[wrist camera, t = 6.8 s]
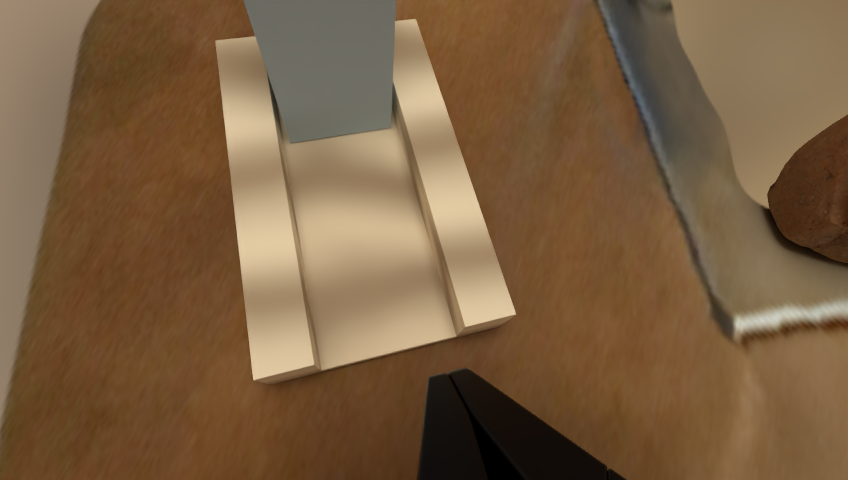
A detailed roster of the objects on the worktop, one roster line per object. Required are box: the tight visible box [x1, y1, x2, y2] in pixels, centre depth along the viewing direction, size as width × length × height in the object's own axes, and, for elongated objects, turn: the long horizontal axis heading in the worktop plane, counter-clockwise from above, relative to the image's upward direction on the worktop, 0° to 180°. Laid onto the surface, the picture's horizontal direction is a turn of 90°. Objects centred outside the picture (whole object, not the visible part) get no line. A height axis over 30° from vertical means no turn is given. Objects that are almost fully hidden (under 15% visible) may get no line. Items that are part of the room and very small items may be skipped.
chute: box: [216, 19, 516, 385], centre depth 23 cm, size 19×12×3 cm, turn 15°
